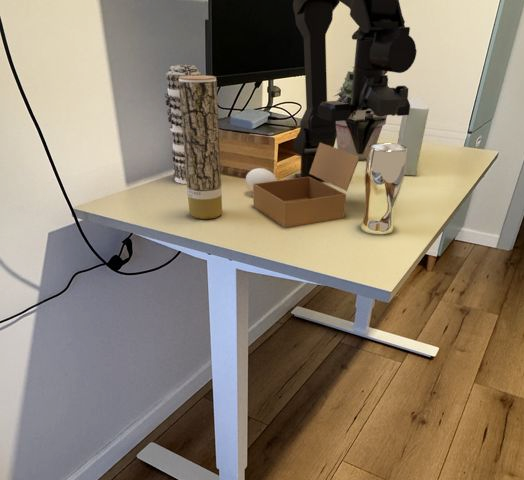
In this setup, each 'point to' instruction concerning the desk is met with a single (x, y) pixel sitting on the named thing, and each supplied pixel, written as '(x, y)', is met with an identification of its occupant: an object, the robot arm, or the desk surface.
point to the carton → (298, 201)
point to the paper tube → (201, 144)
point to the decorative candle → (177, 116)
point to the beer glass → (383, 185)
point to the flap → (334, 166)
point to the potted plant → (342, 129)
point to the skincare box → (413, 133)
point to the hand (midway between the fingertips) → (359, 154)
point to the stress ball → (259, 177)
